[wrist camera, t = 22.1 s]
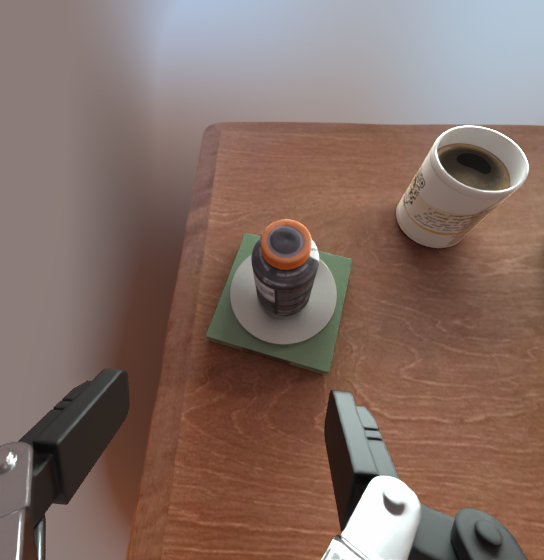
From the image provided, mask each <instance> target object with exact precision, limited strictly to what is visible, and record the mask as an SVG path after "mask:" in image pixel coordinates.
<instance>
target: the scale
mask: <svg viewBox="0 0 544 560" xmlns="http://www.w3.org/2000/svg"><path fill="white" fill-rule="evenodd" d="M259 238H260V236H256V235H252V234H247V233H245V234H244V237H243V240H242V242H241V245H240V247H239V250H238V253H237V255H236V258H235V260H234V263H233V266H232V268H231V271H230V273H229V276H228V279H227V281H226V284H225V286H224V289H223V292H222V294H221V297H220V299H219V302H218V305H217V307H216V310H215V313H214V315H213V318H212V320H211V323H210V326H209V328H208V331H207V333H206V337H207V338H208V339H209V340H210V341H212V342H215V343H219V344H222V345H225V346H229V347H232V348H236V349H239V350H242V351H245V352H248V353H251V354H255V355H258V356H262V357H265V358H268V359H272V360H275V361H278V362H282V363H285V364H288V365H293V366H296V367H299V368H303V369H306V370H310V371H313V372H316V373H320V374H323V375H326V374H328V373H329V372H330V367H331V362H332V357H333V352H334V347H335V342H336V338H337V333H338V328H339V323H340V318H341V313H342V309H343V304H344V299H345V294H346V289H347V284H348V280H349V275H350V270H351V265H352V259H349V258H345V257H341V256H337V255H333V254H329V253H325V252H321V251H318V253H319V266H318V270H317V273H316V277H315V280H314V284H313V287H312V291H311V294H310V298H309V301H308V303H307V305H306V306H305V307H304V308H303V309H302V310H301V311H300V312H299V313H297V314H295V315H292V316H287V317H283V316H276V315H273V314H271V313H269V312H268V311H266V310H265V309H264V308H263V307H262V305H261V304H260V302H259V300H258V297H257V291H256V286H255V280H254V274H253V268H252V261H251V256H252V251H253V248H254V245H255V244H256V242H257V241H258V239H259Z"/></svg>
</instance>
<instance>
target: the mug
mask: <svg viewBox="0 0 544 560" xmlns="http://www.w3.org/2000/svg"><path fill="white" fill-rule="evenodd" d="M528 169H529V168H528V162H527V159H526V157H525V155H524V153H523V152H522V150H521V149H520V148H519V147H518V146H517V145H516V144H515V143H514V142H513V141H512V140H510V139H509V138H508V137H506V136H504V135H503V134H501V133H498V132H496V131H494V130H491V129H488V128H484V127H478V126H460V127H455V128H452V129H450V130H448V131H446V132H444V133H443V134H442V135H440V136H439V137H438V139H437V140H436V141H435V143H434V145H433V146H432V148H431V150H430V151H429V153H428V155H427V156H426V158H425V160H424V161H423V163H422V165H421V167H420V168H419V170H418V172H417V173H416V175H415V177H414V178H413V180H412V182H411V183H410V185H409V187H408V188H407V190H406V192H405V193H404V195H403V197H402V198H401V200H400V202H399V204H398V206H397V211H396V215H397V221H398V224H399V226H400V228H401V229H402V230H403V232H404V233H405V234H406V235H407V236H408V237H409V238H411V239H412V240H414V241H415V242H417V243H419V244H421V245H424V246H427V247H432V248H446V247H450V246H453V245H455V244H457V243H459V242H460V241H461V240H462V239H463V238H464V237H466V236H467V235H468V234H469V233H470V232H471V231H472V230H473V229H474V228H475V227H476V226H478V225H479V224H480V223H481V222H482V221H483V220H484V219H485V218H486V217H487V216H489V215H490V214H491V213H492V212H493V211H494V210H495V209H496V208H497V207H498V206H499V205H501V204H502V203H503V202H504V201H505V200H506V199H507V198H508V197H509V196H510V195H512V194H513V193H514V192H515V191H516V190H517V189H518V188H519V187H520V186H521V185H522V184H523V183H524V182H525V180H526V178H527V175H528Z"/></svg>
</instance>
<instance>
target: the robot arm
mask: <svg viewBox="0 0 544 560" xmlns="http://www.w3.org/2000/svg"><path fill="white" fill-rule="evenodd" d="M129 404H130V403H129V387H128V374H127V371H125V370H116V369H104V370H102V371H101V372H100V373H99V374H98V375H97V376H96V377H95V378H94V379H93V380H92V381H86V382H85V383H83V384H81V385H79V386H77V387H76V388H74V389H73V390H72V391H70V392H69V393H68V395H66V396H65V397H64V398H63V400H62V401H60V402H59V403H58V404H57V405H56V406H55V407H54V409H53V410H51V411H49V412H48V413H47V414H46V415H45V416H44V417H43V418H42V419H41V420H40V421H39V422H38V423H37V424H36V425H35V426H34V427H33V428H32V429H31V430H30V431H28V432H27V433H26V434H25V435H24V436H23V437H22V438H21V439H20V440H19V441H18V442H11V443H7V444H3V445H1V446H0V560H45V535H46V534H45V533H46V532H45V531H46V525H45V524H46V519H45V512H46V511H47V510H48V508H49V507H50V505H51V504H52V503H55V504H66V505H67V504H68V503H69V501H70V500H71V498H72V497H73V495H74V494H75V492H76V491H77V489H78V488H79V487H80V485H81V484H82V482H83V481H84V479H85V478H86V476H87V475H88V473H89V472H90V470H91V469H92V467H93V466H94V464H95V463H96V462H97V460H98V459H99V457H100V456H101V454H102V453H103V451H104V450H105V448H106V447H107V445H108V444H109V442H110V441H111V439H112V438H113V437H114V435H115V434H116V432H117V430H118V429H119V428H120V426H121V425H122V423H123V422H124V420H125V419H126V417H127V414H128V410H129ZM324 434H325V443H326V448H327V454H328V460H329V465H330V471H331V477H332V482H333V488H334V494H335V499H336V505H337V511H338V517H339V522H340V528H341V532H343V533H342V534H341V536H339V535H336V536H335V538H334V539H333V541H332V542H331V544H330V546H329V547H328V549H327V551H326V553H325V555H324V556H323V558H322V560H528V559H527V558H526V556H525V554H524V553H523V551H522V550H521V548H520V546H519V545H518V543H517V541H516V540H515V538H514V537H513V536H512V534H511V533H510V532H509V531H508V530H507V529H506V528H505V527H504V526H503V525H502V524H501V523H500V522H499V521H498V520H496V519H495V518H493V517H492V516H490V515H489V514H487V513H485V512H483V511H480V510H478V509H474V508H463V509H461V510H460V511H458V513H457V514H456V517H455V518H454V517H451V516H449V515H446V514H444V513H441V512H439V511H436V510H434V509H431V508H429V507H427V506H425V505H423V504H422V503H420V502H419V500H418V498H417V496H416V495H415V493H414V492H413V491H412V490H411V489H410V488H409V487H408V486H407V485H406V484H405V483H403V482H402V481H400V479H399V477H398V475H397V472H396V470H395V467H394V465H393V462H392V460H391V458H390V455H389V453H388V450H387V448H386V445H385V443H384V441H383V438H382V436H381V433H380V431H379V428H378V426H377V423H376V421H375V418H374V417H373V416H372V414H371V413H370V412H369V411H368V410H367V409H366V408H365V407H362V406H356V405H355V402H354V399H353V396H352V393H351V392H349V391H338V390H331V391H330V395H329V401H328V407H327V413H326V418H325V427H324Z"/></svg>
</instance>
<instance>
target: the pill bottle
mask: <svg viewBox="0 0 544 560" xmlns="http://www.w3.org/2000/svg"><path fill="white" fill-rule="evenodd" d="M251 261H252V268H253V274H254V280H255V286H256V291H257V297H258V300H259V302H260V304H261V305H262V307H263V308H264V309H265V310H266V311H268V312H269V313H271V314H273V315H276V316H283V317H287V316H292V315H295V314H297V313H299V312H300V311H301V310H302V309H303V308H304V307H305V306H306V305H307V303H308V301H309V298H310V294H311V291H312V287H313V284H314V280H315V277H316V273H317V270H318V266H319V253H318V250H317V247H316V245H315V243H314V242H313V241H312V239H311V235H310V233H309V231H308V230H307V228H306V227H305V226H304V225H302V224H301V223H299V222H297V221H294V220H289V219H284V220H278V221H275V222H273V223H271V224H270V225H269V226H267V227H266V229H265V230H264V232H263V234H262V236H261V237H260V238H259V239H258V241H257V242H256V244H255V245H254V248H253V251H252V256H251Z"/></svg>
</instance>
